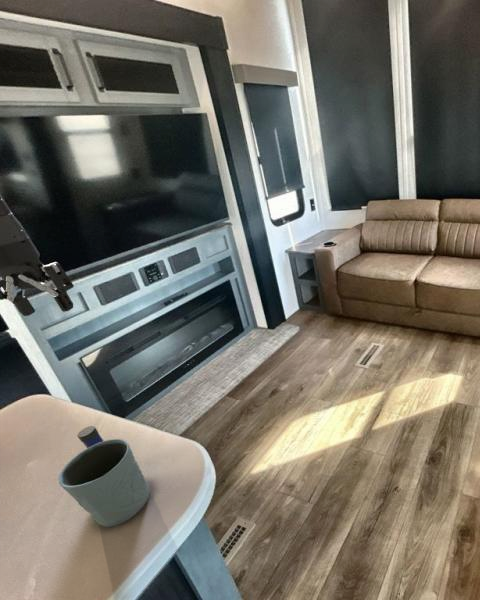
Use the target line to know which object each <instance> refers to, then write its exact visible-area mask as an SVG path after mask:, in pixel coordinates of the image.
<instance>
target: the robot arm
mask: <svg viewBox="0 0 480 600" xmlns="http://www.w3.org/2000/svg"><path fill="white" fill-rule="evenodd" d="M40 255H41V254H40V252H39V250H38V249H37V247H36V246H35V244H34V242H33V241H32V239H31V237H30V235H29V234H28V233H27V231H26V229H25V227H24V226H23V225H22V223H21V222H20V221H19V220H18V218H17V217H16V215H14V213H13V212H12V210H11V208H10V207H9V205H8V204H7V202H6V201H5V199H4V197H3V195H2V194H1V193H0V301H3V300H8V301H9V302H11V303H13V306H15V308H16V309H17V311H18V312H19V313H20V314H21V315H22V316H24V317H29V316H31V315H33V314H34V313H35V312H36V308H34V307H33V305H32V303H31V302H30V300H29V299H28V297H27V296H25V292H26V289H38V290H40V291H43V292H46V293H49V294H50V295H52V296H53V300H54V301H55V302H56V304H57V306H58V307H59V308H60V310H61V312H63V313H65V312H69V311H71V310H72V309H73V308H74V302H73V300H72V299H71V298H70V297H71V296H70V295H69V294H68V291H70V290H71V289H73V288H75V287H74V286H75V285H74V284H73V282H72V280H71V279H70V278H69V276H68V274H67V273H66V271H65V270H64V269H63V267H62V266H61V264H60V263H59V262H58V261H54V262H51V263H49V264H43V263H42V262H41V261H40ZM1 288H2V289H3V290H2V289H1Z"/></svg>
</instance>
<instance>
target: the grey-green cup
mask: <svg viewBox="0 0 480 600" xmlns="http://www.w3.org/2000/svg"><path fill="white" fill-rule="evenodd" d="M57 481H58V484H59V486H60V487H61V488H62V489H63V490H64V491H65V492H66V493H68V494H69V496H71V497H72V498H73V500H75V501H76V503H78V505H79V506H80V507H82V508H83V510H84V511H85V512H87V513H89V514H90V517H91V518H92V519H93V520H94V521H95V522H96V523H97V524H98V525H100V526H102V527H106V528H110V527H115V526H119V525H121V524H123V523H124V522H126V521H128V520H129V519H131V518H132V517H134V516H135V515H137V513H139V512H140V511H141V509H143V507H144V506H145V505H146V503H147V501H148V500H149V497H150V493H151V490H150V487H149V484H148V482H147V480H146V478H145V476H144V474H143V471H142V469H141V468H140V465H139V463H138V462H137V461H136V459H135V456H134V453H133V451H132V448H131V446H130V444H129V442H128V441H127V440H125V439H121V438H113V439H107V440H104V441H103V442H100V443H97V444H95V445H93V446H91V447H89V448H87V447H86V449H84V450H82V451H81V452H79V453H78V454H76V455H75V456H74V457H72V459H70V460H69V461H68V462H67V463H66V464H65V466H64V467H63V468H62V469H61V471H60V473H59V475H58V479H57Z"/></svg>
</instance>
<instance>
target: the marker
mask: <svg viewBox="0 0 480 600" xmlns="http://www.w3.org/2000/svg"><path fill="white" fill-rule="evenodd" d="M76 436H77V438H78V439H79V440H80V442H81V443H82V444H83V445H84V447H85V448H86V449H87V448H89V447H91V446H93V445H95V444H97V443H100V442H103V441H105V440H104V439H103V438H102V436H101V434H100V433H99V431H98V429H97V428H96V426H94V425H90V426H86V427H84V428H82V429H81V430H80V431H79V432H78V433H77V435H76Z"/></svg>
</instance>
